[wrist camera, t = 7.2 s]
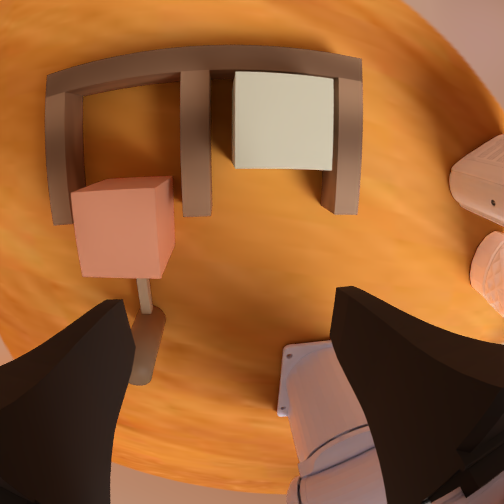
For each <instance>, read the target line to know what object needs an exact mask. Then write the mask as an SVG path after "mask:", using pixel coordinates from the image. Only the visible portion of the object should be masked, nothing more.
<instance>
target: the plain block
mask: <svg viewBox="0 0 504 504" xmlns="http://www.w3.org/2000/svg"><path fill="white" fill-rule="evenodd" d="M333 114H334V89H333V79H330V78H323V77H315V76H307V75H297V74H285V73H269V72H235V77H234V82H233V88H232V163H233V165H234V167H235V169H251V168H260V169H309V170H330V171H332V156H333Z"/></svg>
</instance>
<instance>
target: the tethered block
mask: <svg viewBox="0 0 504 504" xmlns="http://www.w3.org/2000/svg"><path fill="white" fill-rule="evenodd" d="M71 201H72V212H73V220H74V228H75V236H76V243H77V249H78V255H79V261H80V266H81V271H82V276H83V277H104V278H136V280H137V287H138V293H139V300H140V306H141V309H140V310H139V311H138V314H137V316H136V318H135V321H134V323H133V326H132V328H131V332H132V336H133V339H134V342H135V346H136V349H135V356H134V362H133V367H132V372H131V376H130V379H129V382H128V383H130V384H133V385H146V384H148V383H149V382H150V381H151V378H152V374H153V369H154V365H155V361H156V357H157V353H158V349H159V345H160V341H161V337H162V333H163V330H164V326H165V322H166V317H165V314H164V313H163V311H162V310H161V309H159V308H158V307H156V306H153V304H152V297H151V290H150V281H149V279H161V277H162V275H163V272H164V270H165V267H166V265H167V263H168V260H169V258H170V256H171V253H172V251H173V249H174V246H175V230H174V199H173V176H152V177H130V178H114V179H105V180H103V181H100V182H97V183H94V184H92V185H89V186H87V187H84V188H81V189H79V190H76V191H74V192H71Z"/></svg>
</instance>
